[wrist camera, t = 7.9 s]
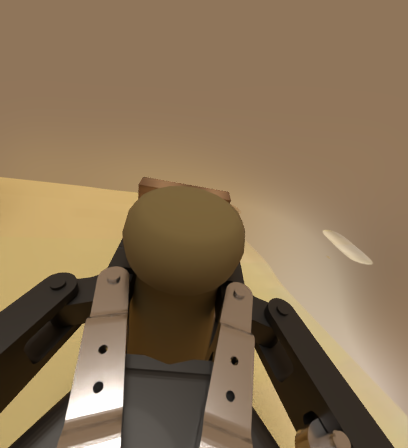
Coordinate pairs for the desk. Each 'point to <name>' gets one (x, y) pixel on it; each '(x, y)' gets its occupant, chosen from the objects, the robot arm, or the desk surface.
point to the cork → (178, 269)
